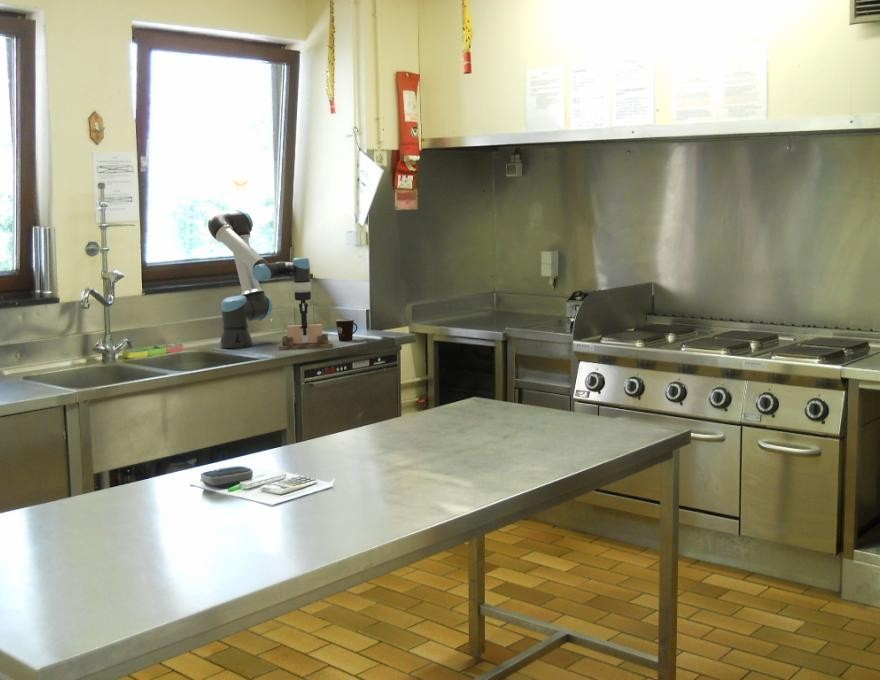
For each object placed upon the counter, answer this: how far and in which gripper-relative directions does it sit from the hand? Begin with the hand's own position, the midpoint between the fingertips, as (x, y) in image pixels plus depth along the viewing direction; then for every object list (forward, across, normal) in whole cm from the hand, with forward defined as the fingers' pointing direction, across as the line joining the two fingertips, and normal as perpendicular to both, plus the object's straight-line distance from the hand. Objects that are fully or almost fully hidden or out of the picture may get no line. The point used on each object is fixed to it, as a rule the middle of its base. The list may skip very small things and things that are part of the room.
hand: (305, 341), depth 478 cm
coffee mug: (+3, +12, -20) cm, 23 cm away
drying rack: (+3, 0, 0) cm, 3 cm away
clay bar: (0, 0, 0) cm, 0 cm away
